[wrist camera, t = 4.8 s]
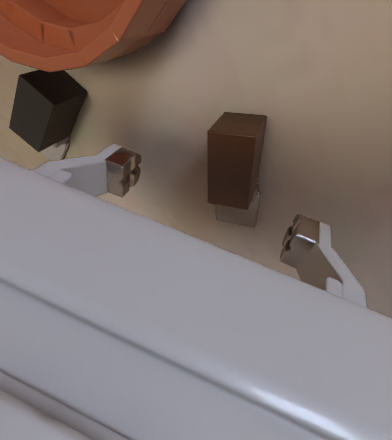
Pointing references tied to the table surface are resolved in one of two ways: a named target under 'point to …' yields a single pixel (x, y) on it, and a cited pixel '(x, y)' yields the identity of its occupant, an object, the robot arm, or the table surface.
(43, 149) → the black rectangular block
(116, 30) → the bowl
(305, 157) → the table surface
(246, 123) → the block
